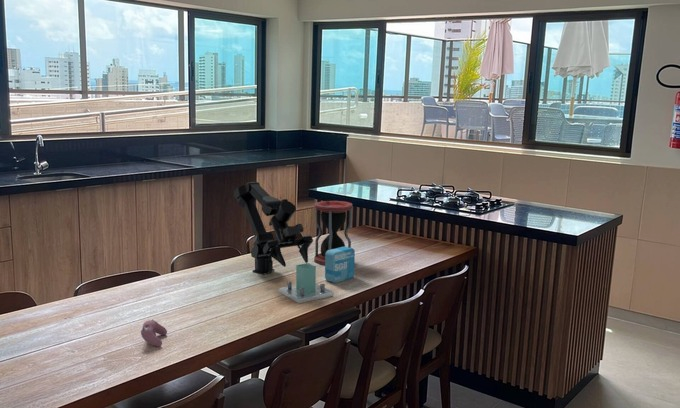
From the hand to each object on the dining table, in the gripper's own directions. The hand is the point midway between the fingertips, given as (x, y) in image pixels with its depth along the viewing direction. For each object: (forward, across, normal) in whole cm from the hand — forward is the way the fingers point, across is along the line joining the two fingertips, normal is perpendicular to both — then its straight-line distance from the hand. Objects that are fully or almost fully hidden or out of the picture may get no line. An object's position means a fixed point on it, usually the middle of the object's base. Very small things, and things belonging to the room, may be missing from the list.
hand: (296, 264), depth 221 cm
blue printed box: (+6, +20, +8) cm, 23 cm away
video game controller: (+20, -58, -7) cm, 62 cm away
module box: (+10, 0, +1) cm, 10 cm away
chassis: (+11, 0, +2) cm, 12 cm away
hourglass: (-11, +33, +25) cm, 42 cm away
